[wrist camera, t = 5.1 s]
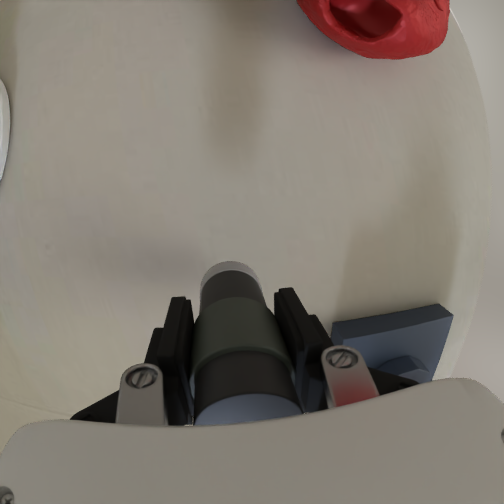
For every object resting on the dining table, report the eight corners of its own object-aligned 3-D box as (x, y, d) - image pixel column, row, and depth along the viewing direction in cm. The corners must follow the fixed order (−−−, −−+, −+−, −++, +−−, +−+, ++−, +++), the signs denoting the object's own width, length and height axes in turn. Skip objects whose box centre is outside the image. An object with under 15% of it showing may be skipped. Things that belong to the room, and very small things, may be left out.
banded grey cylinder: (194, 260, 14) (172, 391, 6) (261, 255, 15) (317, 377, 6) (201, 318, 16) (197, 460, 7) (263, 313, 16) (305, 449, 7)
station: (332, 322, 19) (353, 355, 16) (438, 303, 20) (467, 325, 16) (317, 426, 23) (328, 457, 19) (406, 402, 24) (423, 427, 20)
